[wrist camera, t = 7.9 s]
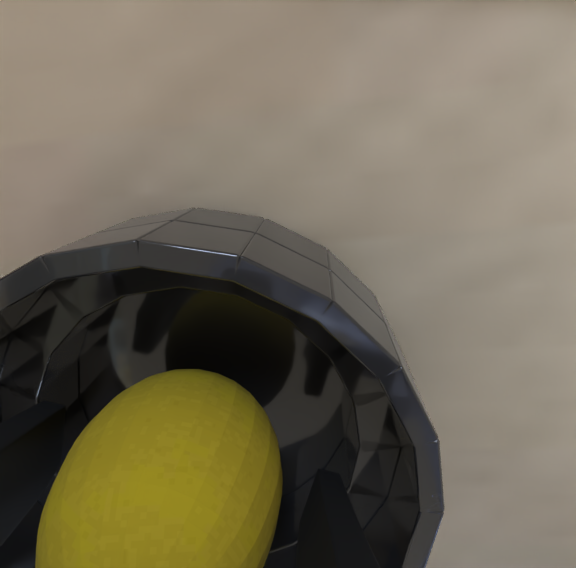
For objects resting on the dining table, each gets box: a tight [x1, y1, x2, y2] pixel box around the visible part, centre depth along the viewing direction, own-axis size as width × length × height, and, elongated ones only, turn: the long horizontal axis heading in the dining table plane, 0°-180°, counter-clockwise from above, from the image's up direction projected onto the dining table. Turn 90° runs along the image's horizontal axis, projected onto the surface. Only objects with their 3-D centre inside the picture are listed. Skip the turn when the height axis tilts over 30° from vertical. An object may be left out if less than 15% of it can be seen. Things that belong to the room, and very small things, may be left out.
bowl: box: [0, 208, 444, 568], centre depth 13 cm, size 13×13×5 cm
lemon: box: [35, 369, 283, 568], centre depth 11 cm, size 6×6×8 cm
